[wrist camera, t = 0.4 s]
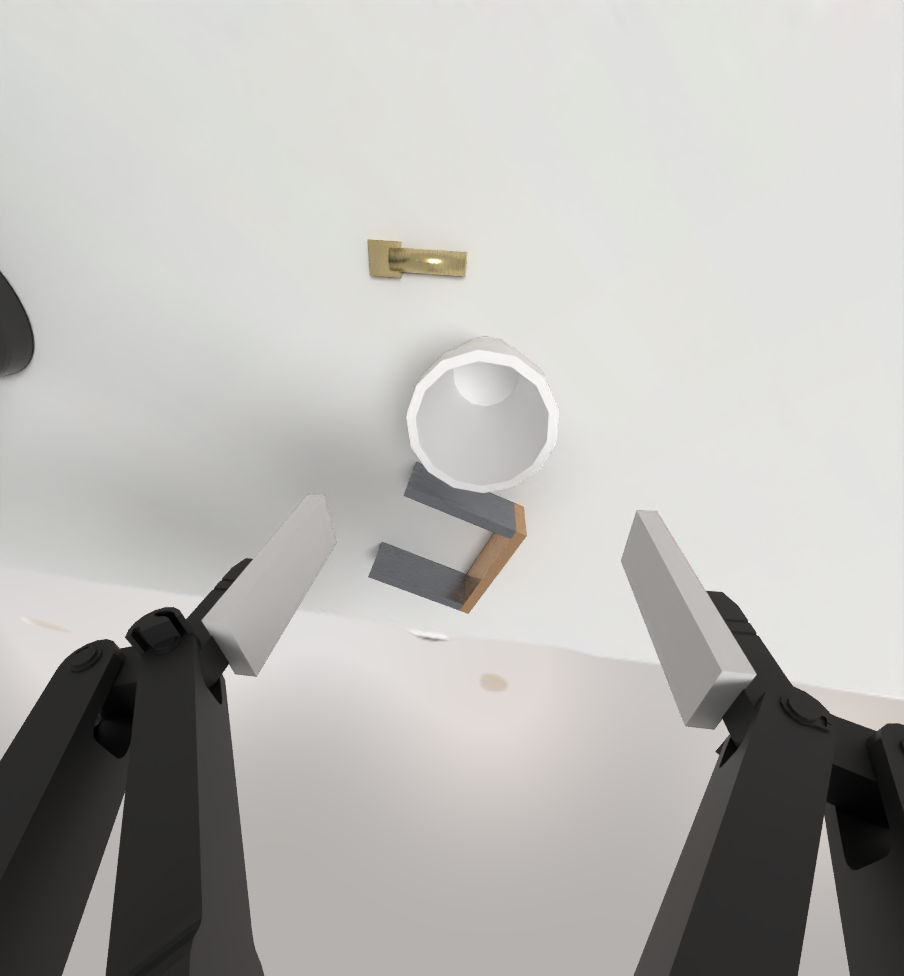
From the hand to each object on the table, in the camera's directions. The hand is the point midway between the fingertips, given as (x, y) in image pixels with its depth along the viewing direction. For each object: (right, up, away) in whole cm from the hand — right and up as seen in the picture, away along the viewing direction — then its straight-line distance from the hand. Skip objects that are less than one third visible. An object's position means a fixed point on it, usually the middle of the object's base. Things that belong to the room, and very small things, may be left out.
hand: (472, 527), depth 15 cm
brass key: (-3, +20, +13) cm, 24 cm away
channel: (-2, -3, +28) cm, 28 cm away
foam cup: (+2, +13, +18) cm, 22 cm away
